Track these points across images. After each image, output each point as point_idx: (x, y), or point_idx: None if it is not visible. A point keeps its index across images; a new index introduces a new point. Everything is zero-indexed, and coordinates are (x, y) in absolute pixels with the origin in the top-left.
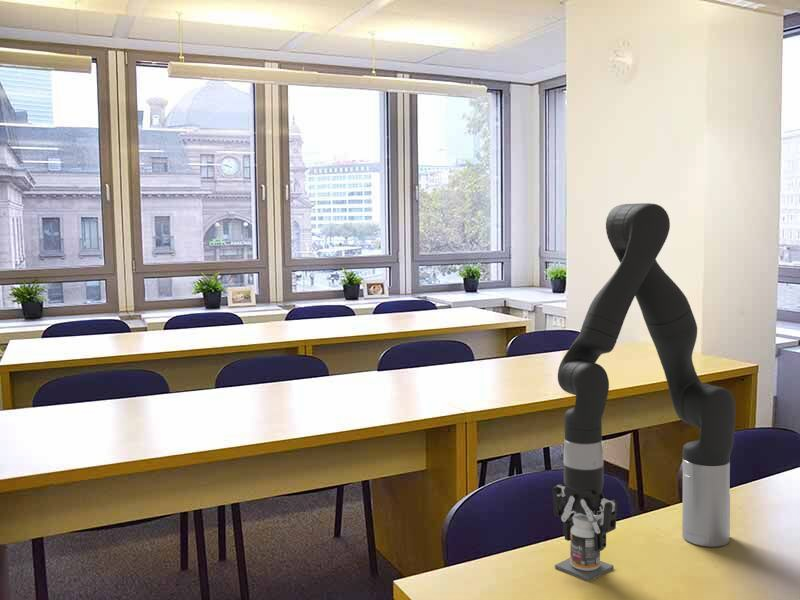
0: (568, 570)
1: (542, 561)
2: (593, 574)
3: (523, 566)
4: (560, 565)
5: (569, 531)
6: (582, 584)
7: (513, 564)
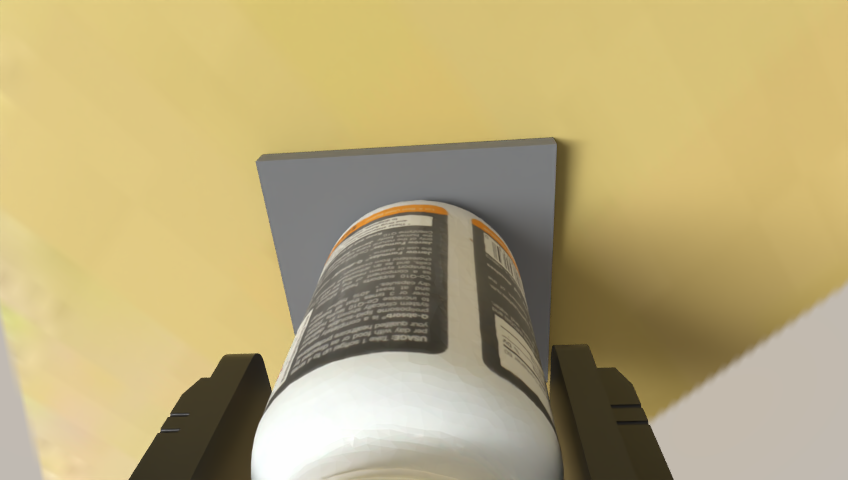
0: None
1: (207, 366)
2: (536, 331)
3: None
4: None
5: (246, 462)
6: None
7: None
